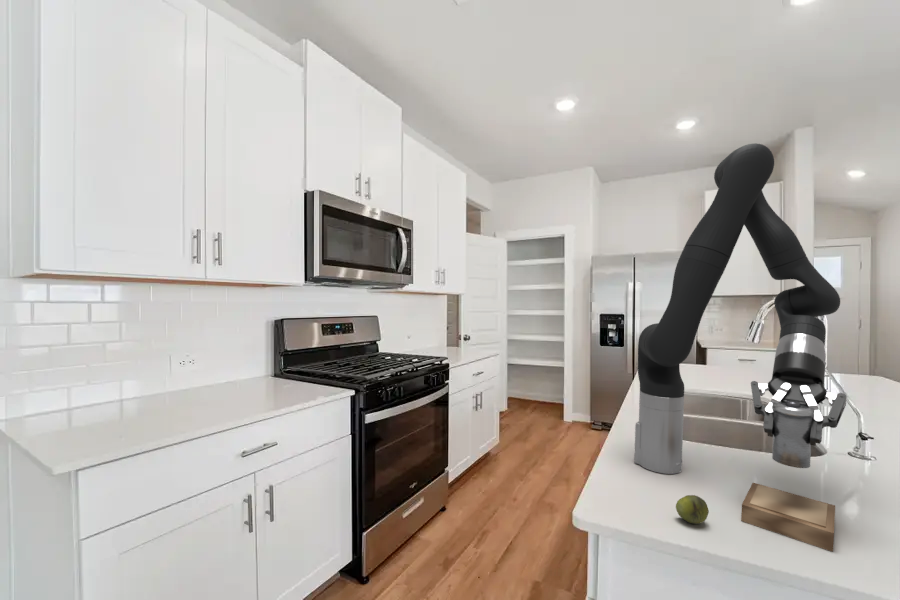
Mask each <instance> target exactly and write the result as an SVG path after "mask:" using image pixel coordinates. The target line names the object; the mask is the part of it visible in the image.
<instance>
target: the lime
mask: <svg viewBox="0 0 900 600" xmlns="http://www.w3.org/2000/svg"><path fill="white" fill-rule="evenodd" d="M676 501H677V502H676V503H675V509H676V512H677V514H678V515H679V517H680V518H681V519H682V520H684V521H685V522H687V523H689V524H697V525H698V524H702V523H704V522H705V521H706V520H707V518H708V515H709V513H710V512H709V508H708V507H709V506H708V504H707V502H706V501H705V500H704V499H703V498H701V497H700V496H698V495H695V494H694V495H693V494H689V495H684V496H683V497H681V498H679V499H678V500H676Z"/></svg>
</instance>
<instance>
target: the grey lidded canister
mask: <svg viewBox="0 0 900 600" xmlns="http://www.w3.org/2000/svg"><path fill="white" fill-rule="evenodd" d="M772 410H774V426H773V437H772V456H771V457H772V460H773V461H774V462H776V463H778V464H781V465H785V466H788V467H791V468H796V469H797V468H798V469H809V468H810V467H811V457H812V456H811V454H812V445H810V434H811V423H812V417H813V416H814V414H815V409H814V408H809V407H808V406H805V405H800V402H797V401H791V400H786V402H779V403H778V402H773V403H772Z"/></svg>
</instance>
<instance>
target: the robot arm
mask: <svg viewBox="0 0 900 600" xmlns="http://www.w3.org/2000/svg"><path fill="white" fill-rule="evenodd" d="M774 168H775V157H774V154H773V152H772V150H770V148H769V147H768V146H766V145H764V144H762V143H748V144H745V145H743V146H740V147H737V149H735V150H733V151H732V152H731V153H729V154H728V155H727V156H726V157H725V158H724V159H722V160H721V161H720V162H719V164H718V165H717V166H716V168H715V171H714V173H713V178H714V183H715V185H716V186H717V188H718V189H717V192H716V194H715V197H714V199H713V201H712V202H711V204H710V206H709V207H708V209H707V211H706V212H705V213H704V215H703V217H702V218H701V219H700V220H699V222H698V223H697V225H696V226H695V228H694V229H693V231H692V232H691V234H690V235H689V237H688V239H687V240H686V242H685V244H684V247H683V248H682V249H683V250H682V251H681V254H680V256H679V258H678V261H677V263H676V265H675V268H674V273H673V279H672V280H673V281H672V287H671V294H670V299H669V301H668V304H667V307H666V308H665V310H664V312H663V315H662V317H661V318H660V320H659V321H658V323H652V324H650V325H647V326H646V327H645V328H644V329H642V332H641V333H640V335H639V337H638V343H637V345H638V346H637V377H638V380H639V381H638V382H639V403H638V405H639V407H638V408H639V409H638V421H637V422H635V426H634V429H635V431H634V457H633V458H634V461H633V463H634V464H636V465H637V464H638V465H639V466H641V467H642V468H644V469H647V470H648V471H652V472H655V473H659V474H664V475H665V474H667V475H668V474H669V475H673V474H678V473H679V474H680V472H681V471H682V467H683V443H684V442H683V441H684V439H683V438H684V410H685V409H684V408H685V407H684V406H685V384H684V383H685V382H684V381H683V379H682V375H681V370H680V369H681V368H680V365H681V364H682V363H683V362H684V361H685V360H686V359H687V358H688V356H689V355H690V353H691V351H692V348H693V346H694V343H695V339H696V336H697V333H698V330H699V326H700V323H701V321H702V318H703V315H704V312H705V310H706V309H707V307H708V305H709V303H710V300H711V299H712V297H713V295H714V294H715V291H716V289H717V286H718V284H719V282H720V280H721V278H722V276H723V274H724V273H725V270H726V268H727V266H728V263H729V262H730V260H731V257H732V254H733V252H734V249H735V248H736V246H737V242H738V241H739V238H740V236H741V233H742V230H743V228H744V227H745V228H746V230H747V231H748V233H749V236H751V238H752V241H753V242H754V244H755V247H756V248H757V250H758V253H759V254H760V256H761V258H762V261H763V263H764V266H765V267H766V270H767V272H768V273H769V274H770V275H769V276H771V278H772V279H773V280H775V281H784V280H794V281H798V282H800V283H801V284H802V285H800V286H795V287H792V288H789V289H784V290H781V291H780V292H779V293H778V294H777V295H776V297H775V298H774V303H773V304H774V308H775V311H776V314H777V317H778V321H779V326H780V329H779V330H780V331H779V332H780V333H779V340H778V344H777V346H776V348H775V355H774V361H773V369H772V373H771V374H772V376H771V379H770V380H769V381H768V382H767V383H759V382H758V381H756V380H752V381H751V382H750V386H751V387H750V388H751V395H752V402H753V407H754V409H753V410H754V412H755V414H756V415H761V416H763V424H762V426H763V427H762V428H763V432H764V433H765V434H766V433H767V436H768V437H771V438H773V426H774V410H772V403H773V402H778V403H779V402H786V400H791V401H797V402H800V405H805V406H808V407H809V408H814V409H815V414H814V416H813V417H812V423H811V434H810V445H811V446H812V447H816V446H817V444H821V443H822V436H823V429H824V428H825V427H829V428H832V429H836V428H837V427H838V425H839V422H840V420H841V419H842V418H841V417H842V415H843V413H844V411H845V408H846V406H847V395H846V394H845V393H843V392H839V393H837V394H835V393H832V392H828V391H827V389H826V388H825V387H824V386H825V376H826V375H825V373H826V366H827V361H826V359H827V357H826V356H827V354H826V333H827V328H826V325H825V324H824V322H823V321H822V320H821V319H819V318H818V317H822V316H829V315H831V314H834V313H835V312H837V311H838V310H839V308H840V305H841V298H840V294H839V293H838V291H837V290H836V288H834V286H833V285H832V284H831V283H830V282H829V281H828V280H827V279H826V278H825V277H823V276H822V275H821V274H820V272H819V271H818V270H817V269H816V268H815V267H814V266H813V264H812V263H811V261H810V260H809V258H808V256H807V254H806V253H805V250H804V248H803V246H802V244H801V242H800V240H799V237H797V235H796V233H795V232H794V231H793V230H792V229H791V227H790V226H789V225H788V224H787V223H786V222H785V221H784V220H783V219H782V218H781V217H780V216H779V215H778V214H777V213H776V212H775V211H774V210H773V208H772V207H771V206H770V204H769V202H768V201H767V199H766V197H765V195H764V192H763V189H764V188H765V186H766V184H767V183H768V181H769V179H770V178H771V176H772V174H773V171H774ZM767 391H768V392H769V393H770V394H771V396H772V397H771V400H770V402H769V403H768V404H767V405H766V406H765V405H764V404H762V398H761V396H762V397H763V396H764V395H765V394H766V392H767ZM825 400H827V401H828V404H829V406H831V407H830V410H829V413H828V414H827V415H822V413H821V411H820V410H819V404H820V403H822V402H823V401H825Z"/></svg>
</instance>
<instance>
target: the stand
mask: <svg viewBox="0 0 900 600" xmlns="http://www.w3.org/2000/svg"><path fill="white" fill-rule="evenodd" d="M740 514H741V515H740V516H741V518H740V521H741V522H744V523H746V524H749V525H752V526H756V527H759V528H760V529H764V530H767V531H770V532H773V533H776V534H779V535H781V536H785V537H787V538H791V539H794V540H797V541H799V542H803V543H806V544H808V545H812V546H815V547H817V548H820V549H824V550H827V551H829V552H832V553H834V541H835V539H834V538H835V521H836V520H835V519H836V518H835V517H836V505H835V504H832V503H828V502H824V501H820V500H817V499H814V498H810V497H808V496H807V497H806V496H802V495H799V494H795V493H791V492H789V491H785V490H781V489H778V488H774V487H771V486H767V485H763V484H760V483H757V482H752V483H751V485H750V487H749V489H748V491H747V493H746V494H745V497H744V499H743V501H742V503H741V513H740Z"/></svg>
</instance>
